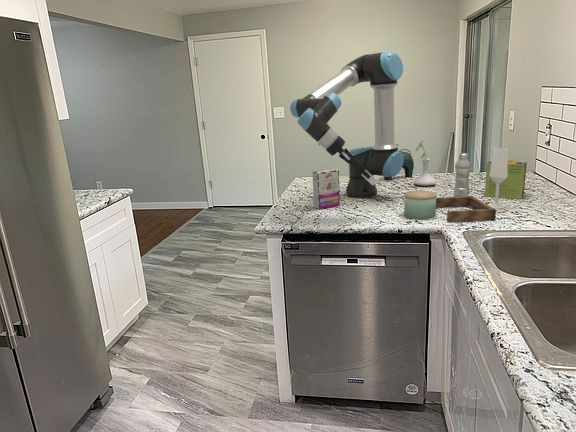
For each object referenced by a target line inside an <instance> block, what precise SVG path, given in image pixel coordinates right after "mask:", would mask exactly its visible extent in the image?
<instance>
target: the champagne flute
mask: <svg viewBox="0 0 576 432" xmlns="http://www.w3.org/2000/svg"><path fill="white" fill-rule="evenodd" d="M491 160H492V163H491V169H490V175H489V176H490V178H491V180H492V181H493V182H494V183H496V193H495V197H494V202H491V203H489V204H487V205H488V206H490V207H492V208H494V209H504V208H506V206H505V205H503V204H501V203H500V202H499V197H498V194H499V184H500V183H502V182H503V181H504V180H505V179H506V178H507V176H508V174H507V160H508V148H506V147H495V148H493V153H492V158H491Z"/></svg>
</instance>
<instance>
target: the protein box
mask: <svg viewBox="0 0 576 432" xmlns="http://www.w3.org/2000/svg"><path fill="white" fill-rule="evenodd" d="M491 163H492V159H491V160H489V161H488V162H487V163H486V171H485V172H486V174H485V175H486V176H485V187H484V197H485V198H486V197H487V198H495V193H496V183H494V182H493V181H492V180H491V178H490V176H489V175H490V169H491ZM527 163H528V161H527V160H514V159H513V160H508V159H507V174H508V176H507V178H506V179H505V180H504V181H503V182H502V183H500V184H499V194H498V199H499V198H501V199H502V198H503V199H515V200H517V199H518V200H522V199H523V198H524V195H525V185H526V177H527V176H526V175H527V166H528V165H527Z"/></svg>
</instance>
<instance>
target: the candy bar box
mask: <svg viewBox="0 0 576 432" xmlns="http://www.w3.org/2000/svg"><path fill="white" fill-rule="evenodd" d="M312 189H313V207H314V209H316V210H317V209H318V210H325V209H329V208H335V207H340V206H341V197H340V196H341V194H340V190H341V189H340V170H339V169H336V168H330V169H324V170H323V169H322V170H318V171H312Z"/></svg>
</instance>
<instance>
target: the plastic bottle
mask: <svg viewBox="0 0 576 432" xmlns="http://www.w3.org/2000/svg"><path fill="white" fill-rule="evenodd" d="M468 158H469V153H468V152H467V153H466V152H459V153H458V159H457V161H456V162H455V164H454V170H455V182H454V189H453V194H454V197H466V196H469V195H470V185H469V184H470V183H469V180H470V178H469V177H470V171H471V162H470V161H469V159H468Z"/></svg>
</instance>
